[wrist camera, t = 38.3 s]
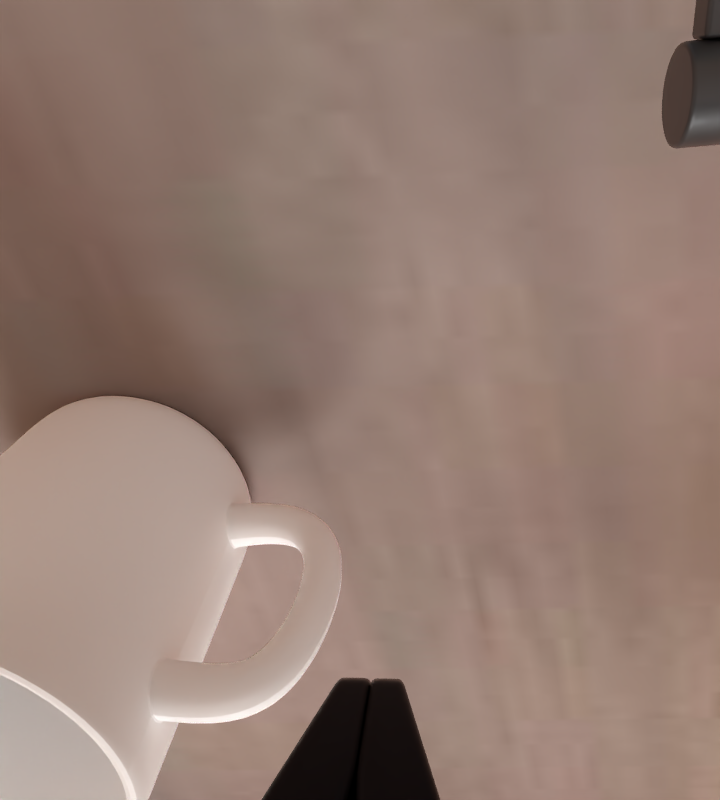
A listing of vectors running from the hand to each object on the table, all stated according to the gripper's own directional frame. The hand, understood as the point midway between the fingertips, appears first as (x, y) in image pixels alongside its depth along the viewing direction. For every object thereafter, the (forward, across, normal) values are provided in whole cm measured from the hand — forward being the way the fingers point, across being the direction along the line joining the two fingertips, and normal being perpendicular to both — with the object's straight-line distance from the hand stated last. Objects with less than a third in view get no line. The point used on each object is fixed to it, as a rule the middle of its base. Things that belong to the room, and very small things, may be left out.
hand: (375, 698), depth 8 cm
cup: (+12, +8, +5) cm, 15 cm away
